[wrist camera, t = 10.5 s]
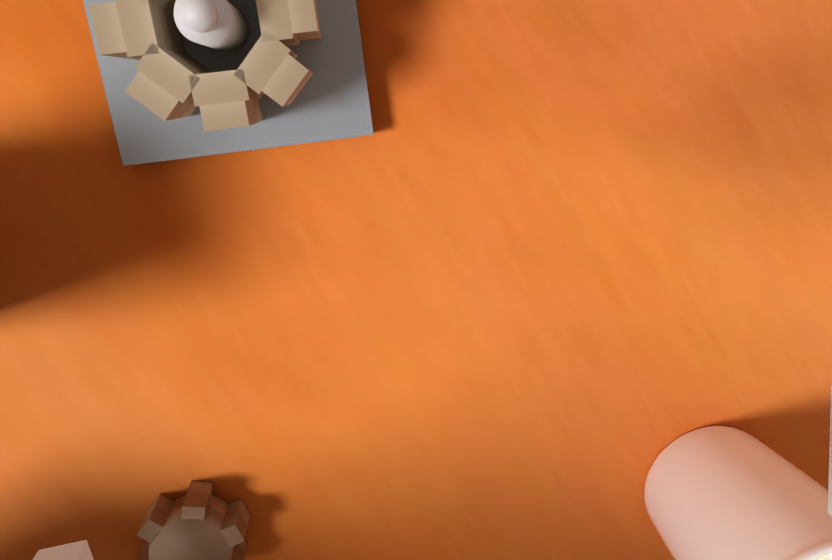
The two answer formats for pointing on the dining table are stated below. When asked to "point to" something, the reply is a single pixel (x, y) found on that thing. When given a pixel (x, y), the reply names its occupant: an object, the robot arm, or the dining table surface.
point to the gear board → (226, 50)
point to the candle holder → (735, 501)
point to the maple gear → (189, 80)
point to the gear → (195, 527)
